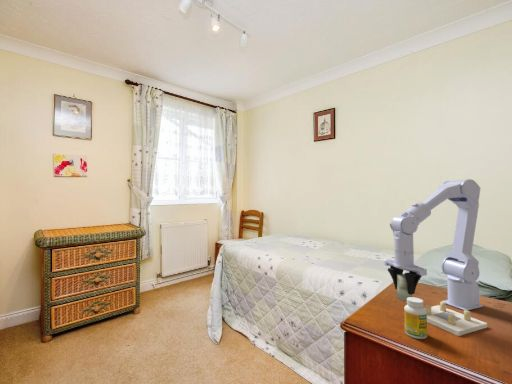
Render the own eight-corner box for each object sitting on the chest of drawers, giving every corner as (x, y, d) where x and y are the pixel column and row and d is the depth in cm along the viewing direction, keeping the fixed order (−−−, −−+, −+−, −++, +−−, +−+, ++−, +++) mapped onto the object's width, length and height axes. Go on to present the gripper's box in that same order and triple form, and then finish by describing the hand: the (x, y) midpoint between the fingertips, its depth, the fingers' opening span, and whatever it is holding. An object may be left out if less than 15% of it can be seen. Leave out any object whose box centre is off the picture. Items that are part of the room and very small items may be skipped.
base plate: (438, 308, 89) (438, 297, 89) (487, 327, 76) (487, 314, 76) (411, 314, 84) (411, 303, 84) (458, 336, 71) (458, 322, 71)
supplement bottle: (410, 327, 76) (409, 294, 76) (430, 335, 72) (430, 300, 72) (400, 333, 73) (400, 298, 73) (421, 341, 69) (420, 305, 69)
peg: (403, 295, 92) (403, 273, 92) (415, 300, 88) (414, 276, 88) (394, 297, 90) (394, 274, 90) (405, 302, 86) (405, 278, 86)
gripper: (378, 248, 95) (378, 286, 94) (415, 256, 81) (416, 300, 81) (392, 247, 97) (393, 283, 97) (430, 254, 84) (431, 297, 83)
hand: (404, 291), depth 89 cm, fingers closed on peg, 4 cm apart
